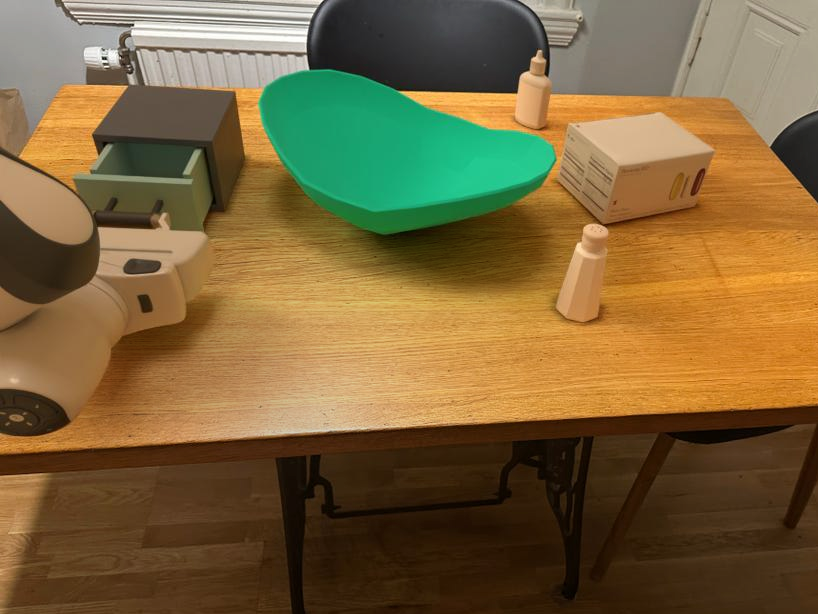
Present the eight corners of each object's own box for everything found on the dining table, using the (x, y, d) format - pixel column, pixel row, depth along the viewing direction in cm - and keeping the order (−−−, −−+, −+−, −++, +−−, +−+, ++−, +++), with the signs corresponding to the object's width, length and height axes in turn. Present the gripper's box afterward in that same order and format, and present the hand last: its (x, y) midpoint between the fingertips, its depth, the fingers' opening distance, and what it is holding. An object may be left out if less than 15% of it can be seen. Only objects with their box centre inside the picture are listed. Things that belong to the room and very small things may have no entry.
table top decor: (217, 208, 91) (198, 110, 82) (348, 135, 110) (345, 48, 100) (478, 324, 79) (490, 223, 70) (576, 220, 97) (596, 130, 88)
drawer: (193, 267, 80) (180, 207, 75) (78, 262, 79) (55, 201, 73) (226, 186, 94) (216, 130, 88) (128, 181, 92) (112, 124, 87)
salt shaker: (592, 293, 85) (612, 215, 78) (605, 322, 81) (628, 243, 74) (549, 294, 84) (566, 216, 77) (561, 323, 80) (579, 244, 73)
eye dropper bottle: (523, 131, 116) (533, 57, 108) (512, 116, 120) (521, 44, 112) (547, 129, 118) (559, 57, 109) (535, 115, 121) (546, 44, 113)
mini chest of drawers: (224, 211, 91) (211, 141, 84) (113, 206, 89) (91, 134, 83) (245, 157, 101) (235, 91, 95) (146, 152, 100) (129, 84, 93)
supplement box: (603, 227, 97) (619, 165, 90) (555, 181, 105) (566, 121, 98) (697, 207, 103) (718, 148, 97) (644, 165, 111) (660, 109, 105)
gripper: (-18, 316, 68) (38, 236, 78) (200, 322, 70) (227, 244, 80) (-46, 263, 63) (17, 186, 73) (187, 271, 66) (218, 195, 76)
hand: (128, 216), depth 77 cm, fingers closed on drawer, 6 cm apart
